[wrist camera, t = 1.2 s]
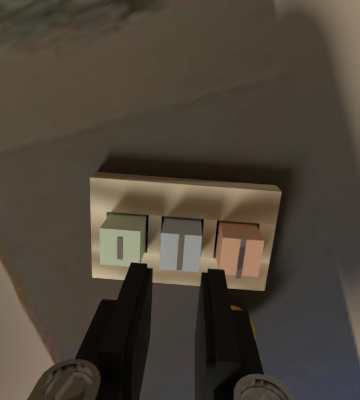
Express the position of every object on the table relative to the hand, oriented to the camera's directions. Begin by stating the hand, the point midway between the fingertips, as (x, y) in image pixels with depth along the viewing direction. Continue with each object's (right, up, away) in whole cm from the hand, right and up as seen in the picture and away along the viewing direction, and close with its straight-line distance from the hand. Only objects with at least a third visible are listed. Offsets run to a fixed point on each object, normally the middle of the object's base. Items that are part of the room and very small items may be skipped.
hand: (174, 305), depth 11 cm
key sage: (-6, 0, +25) cm, 25 cm away
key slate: (0, 0, +25) cm, 25 cm away
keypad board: (0, 0, +26) cm, 26 cm away
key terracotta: (+6, -1, +25) cm, 25 cm away
